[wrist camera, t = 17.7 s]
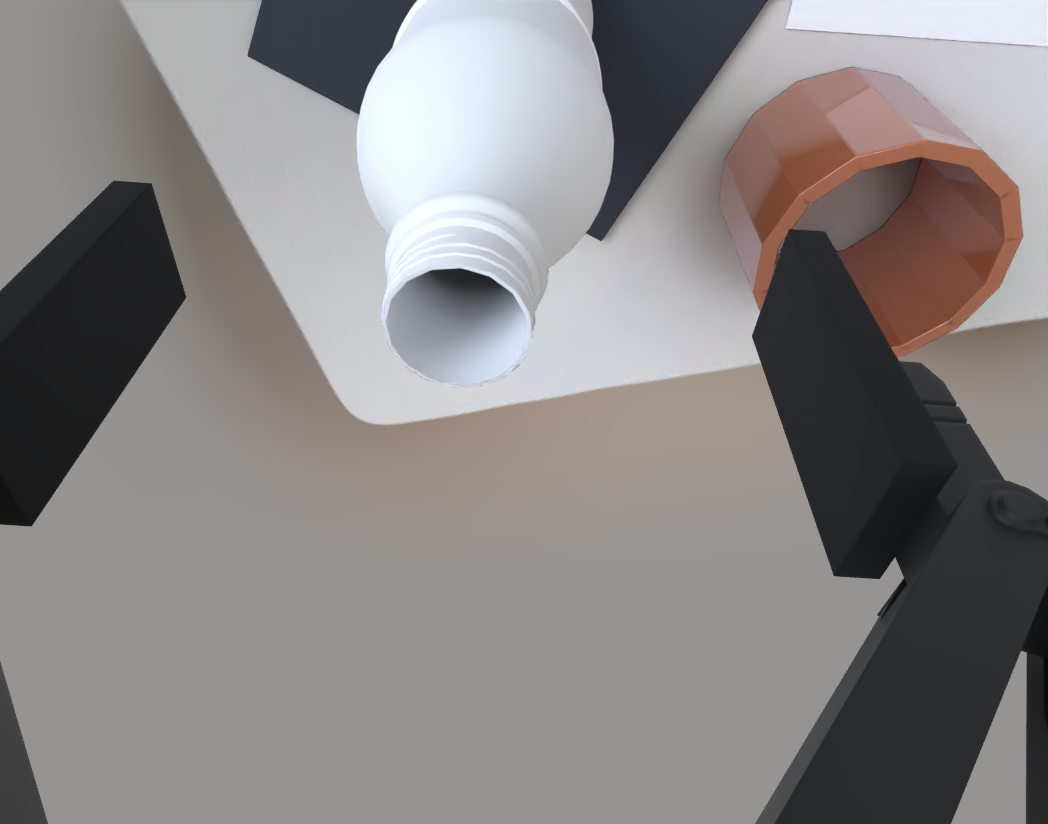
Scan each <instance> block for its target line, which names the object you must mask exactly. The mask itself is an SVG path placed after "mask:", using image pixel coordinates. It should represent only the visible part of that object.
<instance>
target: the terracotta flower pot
mask: <svg viewBox="0 0 1048 824" xmlns="http://www.w3.org/2000/svg"><path fill="white" fill-rule="evenodd" d="M917 157H920V158H922V160H921V163H920V167H919V170H918V173H917V176H916V179H915V182H914V185H913V188H912V191H911V193H910V195H909V196H908V197H907V198H906V199H905V201H904V202H903V203H902V204H901V205H900V207H899V208H898V209H897V210H896V211H895V213H894V214H893V215H892V216H891V217H890V219H889V220H888V221H887V222H886V223H885V225H884V226H883V227H882V228H881V229H879V230H877V231H876V232H874V233H873V234H871V235H869V236H868V237H866V238H864V239H863V240H861V241H859V242H858V243H856V244H854V245H853V246H851V247H849V248H848V249H846V250H843V251H839V252H837V253H838V255H839V257H840V258H841V260H842V262H843V264H844V265H845V267H846V269H847V271H848V273H849V274H850V276H851V278H852V280H853V281H854V283H855V285H856V287H857V288H858V290H859V292H860V294H861V295H862V297H863V299H864V301H865V302H866V304H867V306H868V308H869V309H870V311H871V313H872V315H873V316H874V318H875V320H876V322H877V323H878V325H879V327H880V329H881V330H882V332H883V334H884V336H885V337H886V339H887V341H888V343H889V344H890V346H891V348H892V350H893V351H894V353H895V355H896V357H899V356H904V355H906V354H908V353H910V352H912V351H914V350H916V349H918V348H920V347H922V346H924V345H926V344H928V343H930V342H932V341H933V340H935V339H937V338H939V337H941V336H943V335H945V334H947V333H949V332H951V331H953V330H955V329H957V328H958V327H959V326H960V325H961V324H962V323H963V322H965V321H966V320H967V319H968V318H969V317H970V316H971V315H972V314H973V313H974V312H975V311H976V310H977V309H978V308H979V307H980V306H981V305H982V304H983V303H984V302H985V301H986V300H987V299H988V298H989V297H990V296H991V295H992V294H993V293H994V292H995V291H996V290H997V289H998V288H999V287H1000V285H1001V283H1002V281H1003V279H1004V277H1005V274H1006V272H1007V270H1008V268H1009V266H1010V263H1011V261H1012V259H1013V257H1014V255H1015V253H1016V250H1017V248H1018V246H1019V244H1020V242H1021V240H1022V237H1023V231H1022V220H1021V209H1020V198H1019V188H1018V186H1017V185H1016V184H1015V183H1014V182H1013V181H1012V180H1011V179H1010V178H1009V177H1008V176H1007V174H1006V173H1005V172H1004V171H1003V170H1002V169H1001V168H1000V167H999V166H998V165H997V164H996V163H995V162H994V161H993V160H992V159H991V158H990V157H989V156H988V155H987V154H986V153H985V152H984V151H983V150H982V149H981V148H980V147H978V146H977V145H976V144H975V143H974V142H973V141H972V140H971V139H969V138H968V137H967V136H966V135H965V134H964V133H963V132H962V131H961V130H959V129H958V128H957V127H956V126H955V125H954V124H953V123H952V122H950V121H949V120H948V119H947V118H946V117H945V116H944V115H943V114H942V113H940V112H939V111H938V110H937V109H936V108H935V107H934V106H933V105H931V104H930V103H929V102H928V101H927V100H926V99H925V98H924V97H923V96H921V95H920V94H919V93H918V92H917V91H916V90H915V89H914V88H912V87H911V86H910V85H909V84H908V83H907V82H906V81H905V80H904V79H902V78H901V77H900V76H895V75H891V74H886V73H881V72H876V71H871V70H866V69H861V68H856V67H849V68H846V69H842V70H838V71H834V72H830V73H827V74H823V75H819V76H815V77H812V78H808V79H804V80H800V81H797V82H796V83H795V84H793V85H792V86H791V87H789V88H788V89H787V90H785V91H784V92H782V93H781V94H780V95H778V96H777V97H776V98H774V99H773V100H772V101H770V102H769V103H768V104H766V105H765V106H764V107H762V108H761V109H760V110H758V111H757V112H756V113H754V114H753V116H752V117H751V118H750V120H749V122H748V123H747V125H746V126H745V128H744V130H743V131H742V133H741V134H740V136H739V138H738V139H737V141H736V142H735V144H734V145H733V147H732V149H731V150H730V152H729V153H728V155H727V157H726V158H725V160H724V167H723V174H722V181H721V188H720V196H719V206H720V209H721V211H722V214H723V217H724V219H725V222H726V224H727V227H728V230H729V232H730V235H731V237H732V240H733V243H734V245H735V248H736V250H737V253H738V256H739V258H740V261H741V264H742V266H743V269H744V271H745V274H746V277H747V279H748V282H749V284H750V287H751V290H752V292H753V295H754V297H755V300H756V303H757V305H758V308H759V310H760V311H761V309H762V306H763V303H764V300H765V297H766V294H767V291H768V288H769V285H770V282H771V280H772V277H773V274H774V271H775V268H776V265H777V262H778V259H779V256H780V254H777V250H778V246H779V245H780V244H781V242H782V241H783V240H784V238H785V237H786V236H787V233H788V230H789V229H792V228H793V226H794V225H795V224H796V222H797V221H798V220H799V218H800V217H801V215H802V214H803V213H804V211H805V210H806V209H807V207H808V206H809V205H810V204H811V203H813V202H814V201H816V200H818V199H819V198H821V197H822V196H824V195H825V194H827V193H828V192H830V191H831V190H833V189H834V188H836V187H837V186H839V185H840V184H842V183H844V182H845V181H847V180H848V179H850V178H851V177H853V176H854V175H856V174H857V173H859V172H860V171H863V170H867V169H871V168H875V167H879V166H884V165H888V164H892V163H896V162H901V161H905V160H909V159H913V158H917Z"/></svg>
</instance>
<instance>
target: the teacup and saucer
mask: <svg viewBox="0 0 1048 824" xmlns="http://www.w3.org/2000/svg"><path fill="white" fill-rule="evenodd" d="M785 29H800V30H815V31H829V32H844V33H859V34H873V35H888V36H903V37H917V38H932V39H947V40H962V41H976V42H991V43H1006V44H1020V45H1035V46H1048V0H793V1H792V5H791V8H790V12H789V16H788V19H787V23H786V27H785Z"/></svg>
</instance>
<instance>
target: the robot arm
mask: <svg viewBox="0 0 1048 824" xmlns="http://www.w3.org/2000/svg"><path fill="white" fill-rule="evenodd" d="M185 298H186V295H185V292H184V288H183V285H182V282H181V279H180V275H179V272H178V269H177V265H176V262H175V259H174V256H173V252H172V249H171V246H170V243H169V239H168V236H167V233H166V229H165V226H164V223H163V220H162V216H161V213H160V210H159V206H158V203H157V200H156V197H155V193H154V190H153V187H152V184H150V183H137V182H123V181H113V182H112V183H111V184H110V185H109V186H108V187H107V188H106V189H105V190H104V191H103V192H102V193H101V194H100V195H99V196H98V197H96V199H94V200H93V201H92V202H91V204H89V205H88V206H87V207H86V208H85V209H84V210H83V211H82V212H81V213H80V214H79V215H78V216H77V217H76V218H75V219H74V220H73V221H72V222H71V223H70V224H69V225H68V226H67V227H66V228H65V229H64V230H62V232H60V233H59V234H58V235H57V236H56V237H55V238H54V239H53V240H52V241H51V242H50V243H49V244H48V245H47V246H46V247H45V248H44V249H43V250H42V251H41V252H40V253H39V254H38V255H37V256H36V257H35V258H34V259H33V260H32V261H31V262H29V263H28V264H27V265H26V266H25V267H24V268H23V269H22V270H21V271H20V272H19V273H18V274H17V275H16V276H15V277H14V278H13V279H12V280H11V281H10V282H9V283H8V284H7V285H6V286H5V287H4V288H3V289H2V290H1V291H0V524H2V525H17V526H18V525H19V526H32V525H33V523H34V522H35V520H36V519H37V517H38V516H39V515H40V513H41V512H42V510H43V509H44V507H45V506H46V504H47V503H48V501H49V500H50V498H51V497H52V495H53V494H54V492H55V491H56V489H57V488H58V487H59V485H60V484H61V482H62V481H63V479H64V477H65V476H66V475H67V473H68V472H69V470H70V469H71V467H72V466H73V464H74V463H75V461H76V460H77V458H78V457H79V455H80V454H81V452H82V451H83V450H84V448H85V447H86V445H87V444H88V442H89V441H90V439H91V438H92V436H93V435H94V433H95V432H96V430H97V429H98V427H99V426H100V424H101V423H102V421H103V420H104V418H105V417H106V415H107V414H108V413H109V411H110V409H111V408H112V406H113V405H114V404H115V402H116V401H117V399H118V398H119V396H120V395H121V393H122V392H123V390H124V389H125V387H126V386H127V384H128V383H129V381H130V380H131V378H132V377H133V375H134V374H135V373H136V371H137V370H138V368H139V367H140V365H141V364H142V362H143V361H144V359H145V358H146V356H147V355H148V353H149V352H150V350H151V349H152V347H153V346H154V344H155V343H156V341H157V340H158V338H159V337H160V336H161V334H162V332H163V331H164V330H165V328H166V327H167V325H168V324H169V322H170V321H171V319H172V318H173V316H174V315H175V313H176V311H177V310H178V309H179V307H180V306H181V304H182V303H183V301H184V300H185ZM752 338H753V341H754V344H755V346H756V349H757V352H758V355H759V358H760V361H761V364H762V367H763V370H764V373H765V376H766V379H767V381H768V384H769V387H770V390H771V393H772V396H773V399H774V402H775V405H776V408H777V411H778V414H779V417H780V420H781V423H782V425H783V428H784V431H785V434H786V437H787V440H788V443H789V446H790V449H791V451H792V454H793V458H794V461H795V464H796V466H797V469H798V472H799V475H800V478H801V481H802V484H803V487H804V489H805V493H806V496H807V498H808V501H809V504H810V507H811V510H812V513H813V516H814V519H815V522H816V525H817V528H818V531H819V534H820V537H821V539H822V542H823V545H824V548H825V551H826V554H827V557H828V560H829V563H830V566H831V569H832V572H833V575H834V576H840V577H855V578H856V577H857V578H872V579H880V578H881V576H882V575H883V574H884V572H885V571H886V569H887V568H888V566H889V565H890V563H891V562H892V561H893V559H894V558H895V557H896V560H897V562H898V564H899V567H900V569H901V571H902V574H903V576H904V579H903V580H902V582H901V583H900V584H899V586H898V587H897V588H896V590H895V591H894V592H893V594H892V595H891V597H890V598H889V599H888V601H887V602H886V604H885V605H884V606H883V608H882V609H881V610H880V612H879V613H878V614H877V615H878V616H879V618H878V620H877V622H876V623H875V625H874V626H873V628H872V630H871V631H870V633H869V635H868V637H867V638H866V640H865V641H864V643H863V645H862V647H861V648H860V650H859V651H858V653H857V655H856V656H855V658H854V660H853V662H852V663H851V665H850V667H849V668H848V670H847V671H846V673H845V675H844V677H843V678H842V680H841V682H840V683H839V685H838V686H837V688H836V690H835V692H834V693H833V695H832V697H831V698H830V700H829V702H828V703H827V705H826V707H825V708H824V710H823V712H822V713H821V715H820V717H819V718H818V720H817V722H816V723H815V725H814V726H813V728H812V730H811V731H810V733H809V735H808V736H807V738H806V740H805V742H804V743H803V745H802V747H801V748H800V750H799V752H798V753H797V755H796V756H795V758H794V760H793V762H792V763H791V765H790V767H789V768H788V770H787V771H786V773H785V775H784V776H783V778H782V780H781V782H780V783H779V785H778V787H777V788H776V790H775V791H774V793H773V795H772V796H771V798H770V800H769V801H768V803H767V805H766V806H765V808H764V810H763V812H762V813H761V815H760V816H759V818H758V820H757V822H756V823H755V824H951V822H952V820H953V817H954V815H955V812H956V810H957V807H958V805H959V802H960V800H961V797H962V795H963V792H964V790H965V787H966V785H967V783H968V780H969V778H970V775H971V772H972V770H973V768H974V765H975V763H976V760H977V758H978V755H979V753H980V750H981V748H982V746H983V743H984V741H985V738H986V736H987V733H988V730H989V728H990V726H991V723H992V721H993V718H994V716H995V713H996V711H997V708H998V706H999V704H1000V701H1001V699H1002V696H1003V694H1004V691H1005V689H1006V686H1007V684H1008V681H1009V679H1010V676H1011V674H1012V671H1013V669H1014V666H1015V663H1016V662H1017V659H1018V657H1019V654H1020V652H1021V651H1024V652H1027V722H1026V724H1027V725H1026V731H1027V732H1026V734H1027V735H1026V737H1027V738H1026V741H1027V742H1026V824H1048V501H1047V500H1046V499H1044V498H1042V497H1041V496H1039V495H1038V494H1036V493H1034V492H1033V491H1031V490H1030V489H1028V488H1026V487H1023V486H1020V485H1018V484H1015V483H1013V482H1009V481H1005V480H1004V479H1003V477H1002V475H1001V474H1000V472H999V470H998V469H997V467H996V466H995V464H994V462H993V461H992V459H991V458H990V456H989V454H988V453H987V451H986V449H985V448H984V446H983V445H982V443H981V442H980V440H979V438H978V437H977V435H976V434H975V432H974V430H973V429H972V427H971V426H970V424H967V423H966V421H967V419H966V418H965V416H964V414H963V413H962V411H961V409H960V408H959V407H956V401H955V400H954V398H953V397H952V395H951V393H950V392H949V390H948V389H947V387H946V385H945V384H944V382H943V381H942V380H941V379H939V378H938V377H937V376H936V375H934V374H933V373H932V372H931V371H930V370H929V369H928V368H926V367H925V366H924V365H923V364H922V363H915V362H901V361H899V360H898V359H897V357H896V355H895V353H894V351H893V350H892V348H891V346H890V344H889V343H888V341H887V339H886V337H885V336H884V334H883V332H882V330H881V329H880V327H879V325H878V323H877V322H876V320H875V318H874V316H873V315H872V313H871V311H870V309H869V308H868V306H867V304H866V302H865V301H864V299H863V297H862V295H861V294H860V292H859V290H858V288H857V287H856V285H855V283H854V281H853V280H852V278H851V276H850V274H849V273H848V271H847V269H846V267H845V265H844V264H843V262H842V260H841V258H840V257H839V255H838V253H837V251H836V250H835V248H834V246H833V244H832V243H831V241H830V239H829V237H828V236H827V234H826V232H821V231H807V230H793V229H789V230H788V233H787V236H786V239H785V242H784V245H783V248H782V250H781V253H780V256H779V259H778V262H777V265H776V268H775V271H774V274H773V277H772V280H771V282H770V285H769V288H768V291H767V294H766V297H765V300H764V303H763V306H762V309H761V311H760V314H759V317H758V320H757V323H756V326H755V329H754V332H753V335H752ZM0 824H48V822H47V819H46V816H45V812H44V809H43V805H42V802H41V799H40V795H39V792H38V788H37V785H36V782H35V779H34V775H33V771H32V768H31V765H30V761H29V758H28V754H27V751H26V748H25V745H24V741H23V737H22V734H21V731H20V727H19V724H18V720H17V717H16V714H15V710H14V707H13V703H12V700H11V697H10V693H9V690H8V686H7V683H6V680H5V676H4V673H3V670H2V666H1V663H0Z"/></svg>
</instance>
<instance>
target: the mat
mask: <svg viewBox="0 0 1048 824" xmlns="http://www.w3.org/2000/svg"><path fill="white" fill-rule="evenodd" d="M416 1H417V0H262V3H261V6H260V10H259V14H258V18H257V22H256V25H255V29H254V33H253V37H252V41H251V44H250V48H249V52H248V57H250V58H252V59H254V60H256V61H258V62H260V63H262V64H264V65H266V66H268V67H269V68H271V69H273V70H275V71H277V72H279V73H281V74H283V75H285V76H287V77H289V78H291V79H292V80H294V81H296V82H298V83H300V84H302V85H304V86H306V87H308V88H310V89H312V90H313V91H315V92H317V93H319V94H321V95H323V96H325V97H327V98H329V99H331V100H333V101H334V102H336V103H338V104H340V105H342V106H344V107H346V108H348V109H350V110H352V111H354V112H355V113H357V114H359V115H360V109H361V105H362V102H363V99H364V96H365V92H366V89H367V86H368V84H369V82H370V81H371V79H372V77H373V75H374V73H375V71H376V69H377V67H378V65H379V64H380V63H381V62H382V60H383V59H384V58H385V57H386V55H387V54H388V53H389V52H390V50H391V49H392V47H393V44H394V41H395V38H396V35H397V33H398V31H399V29H400V27H401V24H402V23H403V21H404V19H405V17H406V16H407V14H408V13H409V11H410V9H411V8H412V6H413V5H414V4H415V2H416ZM767 1H768V0H591V2H592V9H593V31H592V37H591V38H592V41H593V43H594V46H595V49H596V52H597V56H598V59H599V64H600V70H601V77H602V91H603V93H604V96H605V99H606V103H607V106H608V109H609V112H610V115H611V121H612V129H613V137H614V149H613V164H612V171H611V177H610V183H609V186H608V189H607V191H606V194H605V197H604V200H603V203H602V206H601V208H600V210H599V212H598V214H597V216H596V218H595V219H594V221H593V223H592V225H591V227H590V228H589V230H588V231H587V232H586V233H587V234H589V235H591V236H592V237H594V238H596V239H598V240H600V241H602V239H603V238H604V236H605V235H606V234H607V232H608V231H609V229H610V228H611V226H612V225H613V223H614V222H615V221H616V219H617V218H618V216H619V215H620V213H621V212H622V210H623V209H624V208H625V206H626V205H627V203H628V202H629V200H630V199H631V197H632V196H633V195H634V193H635V192H636V190H637V189H638V187H639V186H640V184H641V183H642V181H643V180H644V179H645V177H646V176H647V174H648V173H649V171H650V170H651V168H652V167H653V166H654V164H655V163H656V161H657V160H658V158H659V157H660V155H661V154H662V153H663V151H664V150H665V148H666V147H667V145H668V144H669V142H670V141H671V140H672V138H673V137H674V135H675V134H676V132H677V131H678V129H679V128H680V127H681V125H682V124H683V122H684V121H685V119H686V118H687V116H688V115H689V113H690V112H691V111H692V109H693V108H694V106H695V105H696V103H697V102H698V100H699V99H700V98H701V96H702V95H703V93H704V92H705V90H706V89H707V87H708V86H709V85H710V83H711V82H712V80H713V79H714V77H715V76H716V74H717V73H718V72H719V70H720V69H721V67H722V66H723V64H724V63H725V61H726V60H727V59H728V57H729V56H730V54H731V53H732V51H733V50H734V48H735V47H736V45H737V44H738V43H739V41H740V40H741V38H742V37H743V35H744V34H745V32H746V31H747V30H748V28H749V27H750V25H751V24H752V22H753V21H754V19H755V18H756V17H757V15H758V14H759V12H760V11H761V9H762V8H763V6H764V5H765V4H766V2H767Z"/></svg>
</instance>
